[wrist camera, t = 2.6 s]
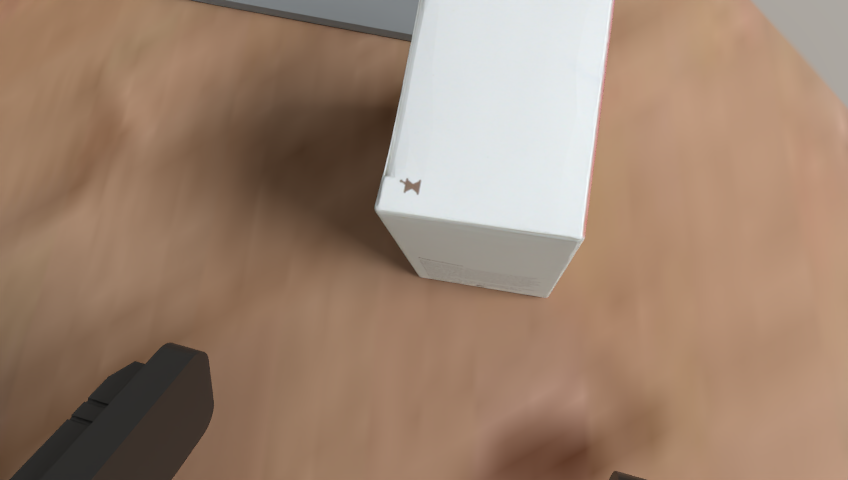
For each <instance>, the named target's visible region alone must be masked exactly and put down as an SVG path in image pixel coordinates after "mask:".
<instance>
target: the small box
mask: <svg viewBox="0 0 848 480" xmlns="http://www.w3.org/2000/svg"><path fill="white" fill-rule="evenodd" d="M614 3H615V0H419V3H418V9H417V15H416V20H415V25H414V30H413V35H412V40H411V45H410V50H409V55H408V60H407V65H406V70H405V76H404V81H403V86H402V90H401V95H400V100H399V105H398V110H397V115H396V119H395V124H394V129H393V134H392V138H391V143H390V147H389V152H388V156H387V161H386V165H385V169H384V173H383V176H382V179H381V183H380V187H379V191H378V195H377V199H376V203H375V207H374V209H375V211H376V213H377V215H378V216H379V217H380V219H381V220H382V222H383V223H384V225H385V227H386V228H387V229H388V231H389V232H390V234H391V235H392V237H393V238H394V240H395V241H396V243H397V244H398V246H399V247H400V249H401V250H402V252H403V253H404V255H405V256H406V258H407V259H408V261H409V262H410V263H411V265H412V266H413V268H414V269H415V271H416V272H417V274H418V275H419V277H422V278H429V279H435V280H441V281H447V282H453V283H459V284H465V285H471V286H477V287H483V288H489V289H495V290H501V291H507V292H513V293H519V294H525V295H531V296H538V297H543V298H547V297H548V296H549V295H550V293H551V292H552V290H553V289H554V287H555V285H556V284H557V282H558V280H559V279H560V277H561V276H562V274H563V272H564V271H565V269H566V268H567V266H568V264H569V263H570V261H571V260H572V258H573V256H574V254H575V253H576V251H577V250H578V248H579V247H580V245H581V243H582V242H583V241H584V239H585V233H586V225H587V217H588V209H589V201H590V192H591V185H592V177H593V170H594V162H595V154H596V146H597V138H598V131H599V123H600V114H601V106H602V99H603V91H604V83H605V75H606V67H607V59H608V50H609V42H610V34H611V27H612V20H613V12H614Z"/></svg>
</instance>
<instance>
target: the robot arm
mask: <svg viewBox="0 0 848 480" xmlns="http://www.w3.org/2000/svg"><path fill="white" fill-rule="evenodd" d="M213 408H214V400H213V392H212V384H211V375H210V367H209V359H208V356H207V354H206V353H205V352H202V351H199V350H195V349H192V348H188V347H185V346H181V345H178V344H174V343H167V344H165V345H163V346H162V347H161V348H160V349H159V350H158V351H157V352H156V353H155V354H154V355H153V356H152V358H151V359H150V360H149V361H148V362H147V363H146V364H143V363H139V362H136V361H135V362H133V363H131V364H130V365H128V366H126V367H124V368H123V369H121V370H119V371H118V372H116V373H114V374H112V375H111V376H109V377H108V378H107V379H106V380H105V381H104V382H103V383H102V384H101V385H100V386H99V387H98V388H97V389H96V390H95V391H94V392H93V393H92V394H91V395H90V396H89V397H88V401H87V402H84V403H83V404H82V405H81V406H80V407H79V408H78V409H77V410H76V411H75V412H74V413H73V414H72V417H71V419H70V420H68V419H67V420H66V421H65V422H64V423H63V424H62V426H61V427H60V428H59V429H58V430H57V431H56V432H55V433H54V434H53V435H52V436H51V437H50V438H49V439H48V440H47V441H46V442H45V443H44V444H43V445H42V446H41V447H40V448H39V449H38V451H37V452H36V453H35V454H34V455H33V456H32V457H31V458H30V459H29V460H28V461H27V462H26V463H25V464H24V465H23V466H22V467H21V468H20V469H19V470H18V471H17V472H16V473H15V474H14V476H13V477H12V478H11V479H10V480H172V478H173V477H174V475H175V474H176V473H177V471H178V470H179V468H180V467H181V466H182V464H183V463H184V461H185V460H186V458H187V457H188V456H189V454H190V453H191V451H192V450H193V448H194V447H195V446H196V444H197V443H198V441H199V440H200V439H201V437H202V436H203V434H204V433H205V431H206V429H207V427H208V425H209V423H210V420H211V417H212V413H213ZM609 480H646V479H642V478H639V477H635V476H632V475H628V474H625V473H621V472H618V471H614V472H613V473H612V475H611V477H610V479H609Z"/></svg>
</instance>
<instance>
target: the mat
mask: <svg viewBox="0 0 848 480" xmlns="http://www.w3.org/2000/svg"><path fill="white" fill-rule="evenodd" d="M193 1H198V2H204V3H209V4H214V5H220V6H225V7H230V8H236V9H241V10H246V11H252V12H257V13H263V14H268V15H273V16H279V17H284V18H289V19H295V20H300V21H306V22H311V23H316V24H322V25H327V26H332V27H338V28H343V29H349V30H354V31H359V32H365V33H370V34H375V35H381V36H386V37H392V38H397V39H402V40H408V41H411V40H412V35H413V30H414V25H415V20H416V15H417V9H418V3H419V0H193Z"/></svg>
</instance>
